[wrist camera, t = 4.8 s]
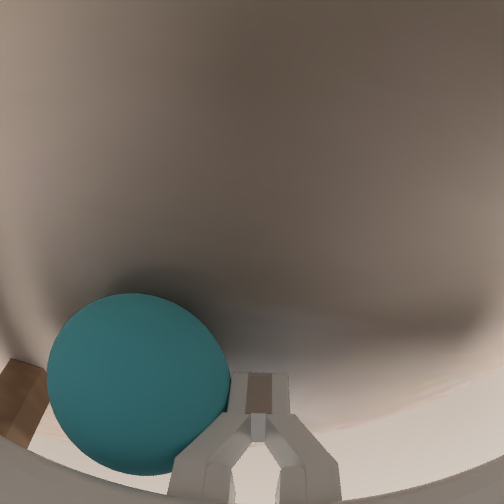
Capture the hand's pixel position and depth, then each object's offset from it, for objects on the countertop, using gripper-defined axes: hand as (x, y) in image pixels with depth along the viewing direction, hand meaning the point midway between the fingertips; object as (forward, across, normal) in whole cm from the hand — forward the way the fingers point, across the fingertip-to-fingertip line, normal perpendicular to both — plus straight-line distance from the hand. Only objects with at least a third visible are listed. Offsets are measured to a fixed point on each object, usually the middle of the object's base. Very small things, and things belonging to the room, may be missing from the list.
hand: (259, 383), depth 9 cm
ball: (-1, +4, 0) cm, 4 cm away
